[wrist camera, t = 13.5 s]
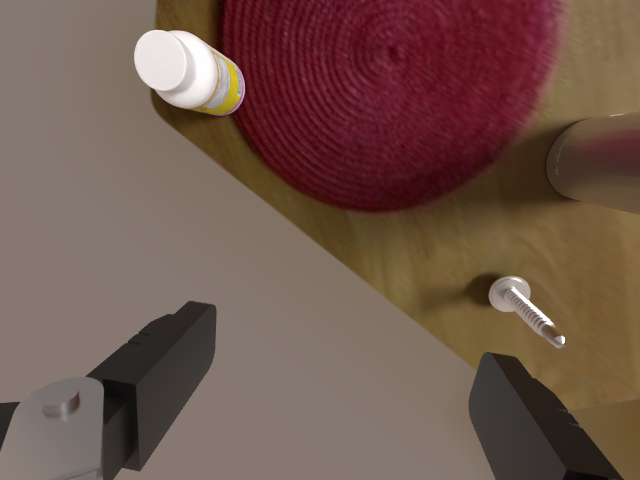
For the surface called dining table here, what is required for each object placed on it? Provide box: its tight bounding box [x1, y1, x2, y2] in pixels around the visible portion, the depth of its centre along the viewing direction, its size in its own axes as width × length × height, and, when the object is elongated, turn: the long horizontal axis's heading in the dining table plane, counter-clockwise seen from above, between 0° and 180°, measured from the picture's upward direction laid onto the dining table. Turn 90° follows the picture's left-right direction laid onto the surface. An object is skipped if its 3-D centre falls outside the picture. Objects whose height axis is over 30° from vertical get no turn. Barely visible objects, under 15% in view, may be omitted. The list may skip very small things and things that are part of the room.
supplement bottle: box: [134, 30, 245, 116], centre depth 33 cm, size 7×7×13 cm
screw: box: [488, 275, 565, 348], centre depth 36 cm, size 13×5×5 cm
